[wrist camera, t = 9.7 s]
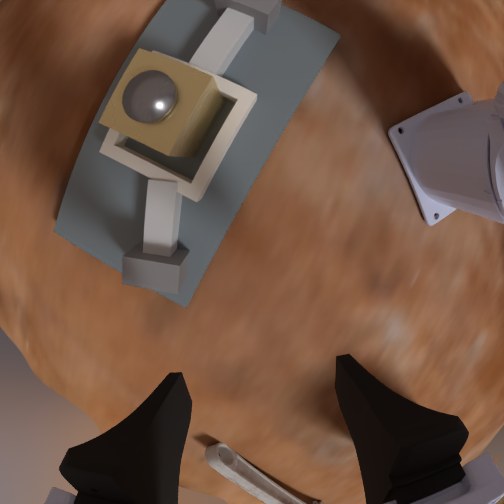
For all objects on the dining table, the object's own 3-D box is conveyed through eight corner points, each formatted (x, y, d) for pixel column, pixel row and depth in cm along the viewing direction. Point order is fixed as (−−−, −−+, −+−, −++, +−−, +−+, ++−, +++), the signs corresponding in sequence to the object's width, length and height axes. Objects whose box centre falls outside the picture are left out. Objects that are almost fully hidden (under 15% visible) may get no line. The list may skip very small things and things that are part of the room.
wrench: (223, 421, 30) (338, 509, 33) (211, 426, 30) (329, 513, 34) (210, 473, 22) (343, 545, 25) (197, 477, 22) (332, 548, 26)
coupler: (225, 102, 17) (211, 72, 10) (194, 158, 18) (164, 155, 11) (171, 78, 16) (134, 44, 10) (141, 132, 17) (92, 121, 11)
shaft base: (191, -19, 15) (181, -49, 11) (336, 41, 16) (355, 17, 12) (61, 227, 20) (30, 241, 16) (189, 300, 22) (177, 329, 18)
